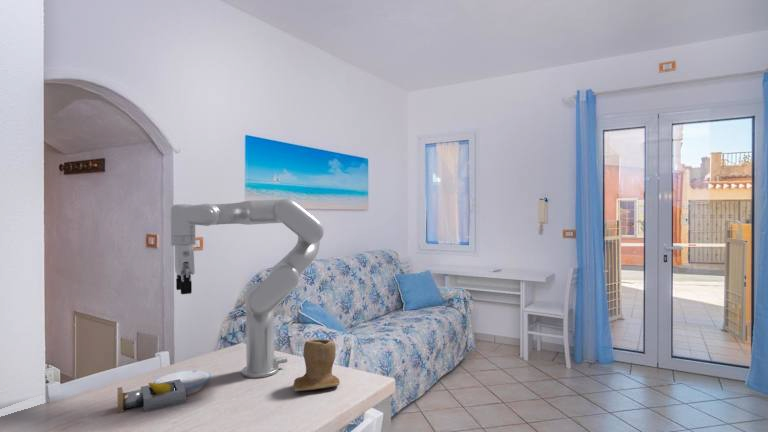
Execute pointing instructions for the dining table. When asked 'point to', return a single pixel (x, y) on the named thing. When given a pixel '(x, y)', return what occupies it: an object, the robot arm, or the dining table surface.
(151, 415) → the dining table surface
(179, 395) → the fitting
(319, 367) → the brown hollow boot figurine
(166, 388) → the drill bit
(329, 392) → the dining table surface
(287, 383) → the dining table surface
